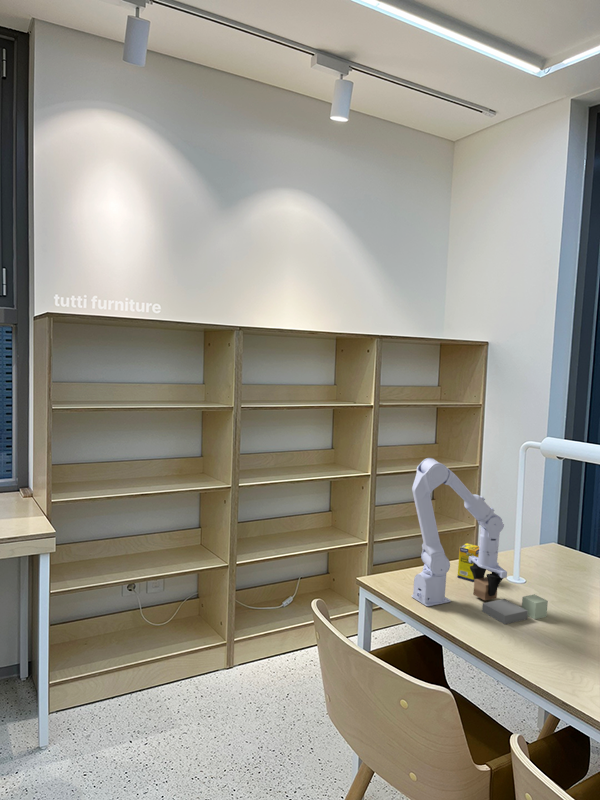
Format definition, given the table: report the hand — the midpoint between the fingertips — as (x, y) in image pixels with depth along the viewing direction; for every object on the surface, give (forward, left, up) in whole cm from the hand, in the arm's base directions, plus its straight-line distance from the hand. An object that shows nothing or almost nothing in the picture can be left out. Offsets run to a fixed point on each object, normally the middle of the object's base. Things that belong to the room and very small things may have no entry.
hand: (485, 591), depth 188 cm
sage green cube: (+6, -14, -3) cm, 15 cm away
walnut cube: (0, 0, -1) cm, 1 cm away
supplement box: (+8, +16, -3) cm, 18 cm away
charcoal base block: (-3, -11, -3) cm, 12 cm away
